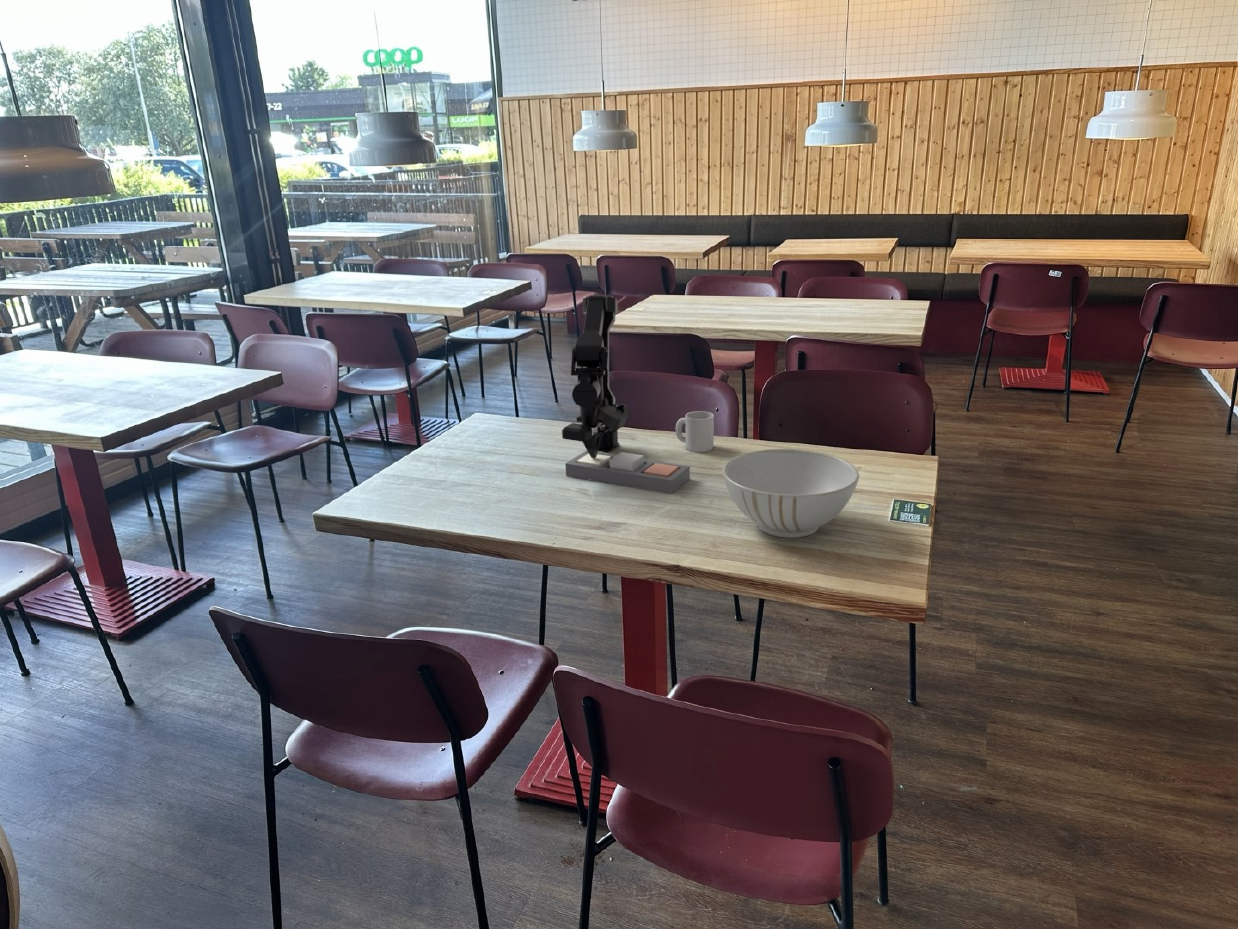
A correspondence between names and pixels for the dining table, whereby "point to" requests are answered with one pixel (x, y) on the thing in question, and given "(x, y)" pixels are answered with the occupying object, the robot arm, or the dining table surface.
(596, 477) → the frame
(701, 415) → the cup
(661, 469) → the terracotta key
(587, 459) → the cream key
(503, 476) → the dining table surface
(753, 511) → the decorative bowl
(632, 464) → the grey key
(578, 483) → the dining table surface
